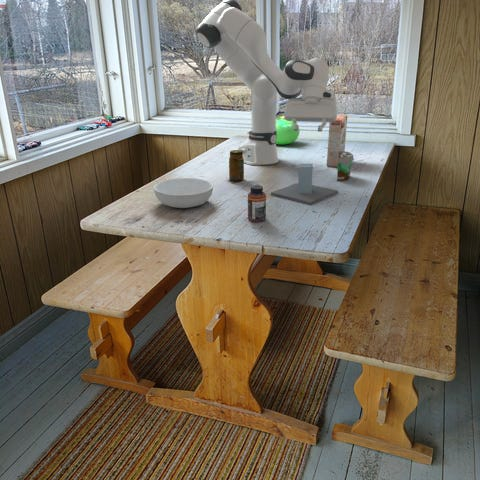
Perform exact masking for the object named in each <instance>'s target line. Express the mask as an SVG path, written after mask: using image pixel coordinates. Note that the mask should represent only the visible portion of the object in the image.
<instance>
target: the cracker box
mask: <svg viewBox="0 0 480 480" xmlns="http://www.w3.org/2000/svg"><path fill="white" fill-rule="evenodd" d="M347 123H348V115H346V114H345V115H344V114H337V120H336V121H335V122H328V124H329V125H328V126H329V127H328V137H327V139H328V141H327V155H326V156H327V158H326V167H330V168H331V167H332V168H338V157H339V151H345V150H346V149H345V148H346V139H347V136H346V135H347V127H348V126H347Z"/></svg>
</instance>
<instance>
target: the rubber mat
mask: <svg viewBox="0 0 480 480" xmlns="http://www.w3.org/2000/svg"><path fill="white" fill-rule="evenodd" d="M337 194H339V190H337V189H333V188H330V187H324V186H320V185H315V184H312V194H307V193H298V182H295V183H292V184H290V185H287V186H284V187H281V188H280V189H277V190H276V189H275V190H274V191H271V192H270V195H271V196H274V197H279V198H280V199H281V198H282V199H286V200H289V201H293V202H297V203H302V204H305V205H308V206H311V205H313V204H317V203H319V202H321V201H323V200H325V199H327V198H330V197H333V196H335V195H337Z"/></svg>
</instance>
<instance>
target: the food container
mask: <svg viewBox="0 0 480 480" xmlns="http://www.w3.org/2000/svg"><path fill="white" fill-rule="evenodd" d="M354 159H355V158H354V155H353V153H351V152H349V151H339V157H338V167H337V176H336V181H337V182H346V181H348V180H350V176H351V170H352V164H353V162H354Z"/></svg>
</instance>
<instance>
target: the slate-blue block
mask: <svg viewBox="0 0 480 480" xmlns="http://www.w3.org/2000/svg"><path fill="white" fill-rule="evenodd" d="M313 167H314V163H299V164H298V181H297V183H298V193H307V194H312V185H313V170H314V169H313Z"/></svg>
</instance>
